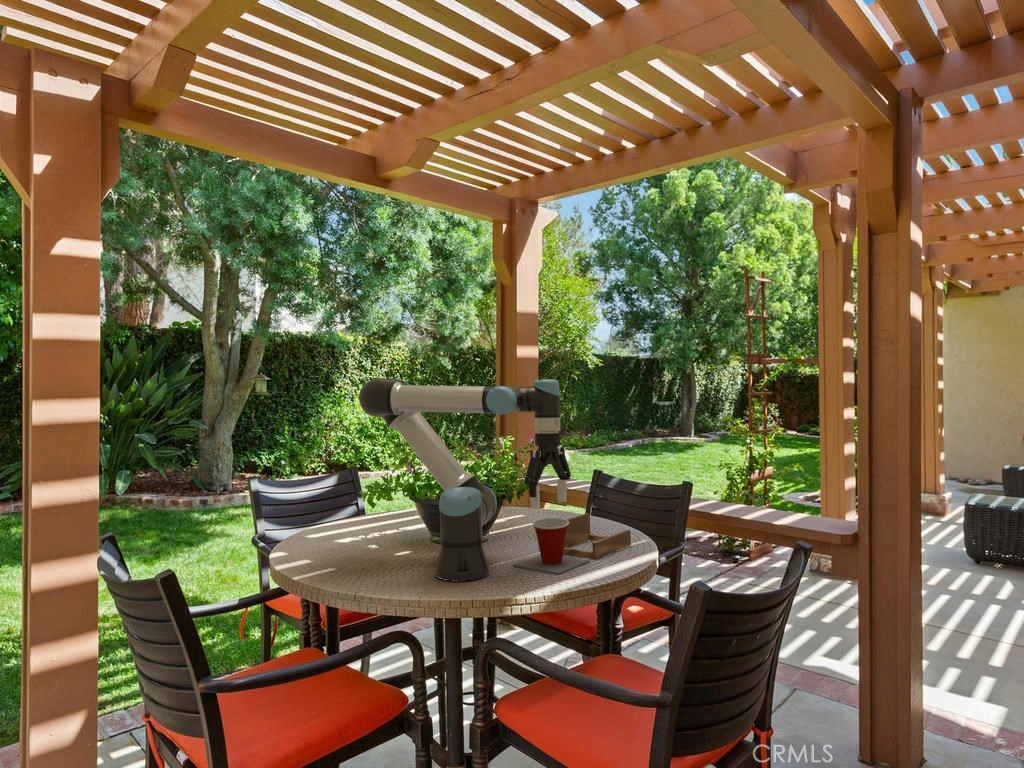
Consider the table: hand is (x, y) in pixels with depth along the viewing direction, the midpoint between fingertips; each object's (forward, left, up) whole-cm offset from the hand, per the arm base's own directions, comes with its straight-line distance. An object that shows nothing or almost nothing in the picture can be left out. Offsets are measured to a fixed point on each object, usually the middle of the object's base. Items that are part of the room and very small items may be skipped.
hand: (548, 505), depth 191 cm
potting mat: (0, 0, -17) cm, 17 cm away
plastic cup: (0, 0, -17) cm, 17 cm away
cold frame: (0, +22, -17) cm, 28 cm away
